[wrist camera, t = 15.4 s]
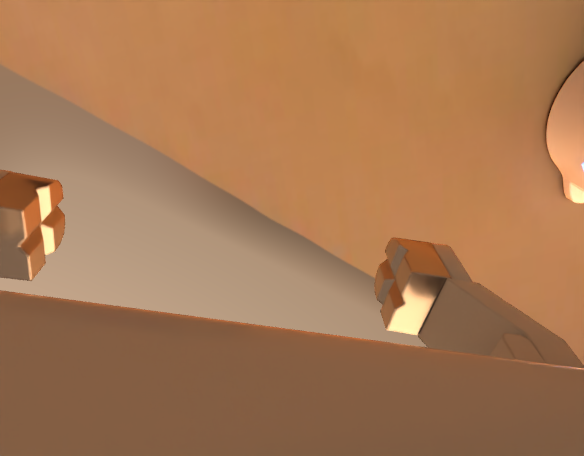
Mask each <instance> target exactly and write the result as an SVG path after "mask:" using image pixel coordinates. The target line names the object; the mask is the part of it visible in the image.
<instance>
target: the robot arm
mask: <svg viewBox="0 0 584 456" xmlns="http://www.w3.org/2000/svg"><path fill="white" fill-rule="evenodd" d="M546 141H547V147H548V151H549V154H550V156H551V158H552V160H553V162H554V163H555V165H556V166H557V167H558V169H559V170H560V172H561V174H562V176H563V188H564V194H565V196H566V197H567V198H568V199H570V200H571V201H573V202H575V203H584V61H583V62H582V63H581V64H580V65H579V66H578V67H577V68H576V69H575V70H574V71H573V73H572V74H571V75H570V76H569V78H568V79H567V80H566V82H565V83H564V85H563V86H562V88H561V90H560V91H559V93H558V95H557V97H556V99H555V101H554V103H553V106H552V108H551V111H550V114H549V118H548V123H547V130H546ZM62 191H63V190H62V185H61V183H60V182H59V181H58V180H53V179H47V178H41V177H37V176H31V175H25V174H21V173H15V172H11V171H6V170H0V277H1V278H11V279H18V280H27V281H32V279H33V278H34V277H35V276H36V275H37V273H38V272H39V271H40V270H41V268H42V267H43V266H44V264H45V263H46V262H45V255H48V254H50V253H53V252H55V251H56V249H57V248H58V246H59V245H60V243H61V240H62V238H63V235H64V229H65V215H64V213H63V212H62V211H61V210H60V209H59V207H58V206H57V205H58V204H59V203H60V202H61V200H62V199H63V192H62ZM385 253H386V255H387V258H388V259H387V260H385V261H384V262H383V263H381V264H380V265H379V268H378V270H377V273H376V277H375V295H376V298H377V300H378V301H379V302H380V303H382V304H383V306H382V309H381V315H382V318H383V321H384V324H385V328H386V330H390V331H396V332H402V333H408V334H414V335H419V336H418V337H419V338H420V339H421V340H422V342H423V343H424V344H426V346H427V347H428V348H427V347H420V346H412V345H405V344H397V343H390V342H382V341H375V340H366V339H360V338H352V337H345V336H337V335H330V334H322V333H315V332H307V331H300V330H292V329H285V328H277V327H270V326H262V325H255V324H248V323H240V322H232V321H225V320H217V319H210V318H203V317H195V316H188V315H180V314H172V313H165V312H158V311H150V310H142V309H135V308H127V307H120V306H113V305H106V304H97V303H91V302H83V301H76V300H68V299H61V298H53V297H45V296H38V295H31V294H23V293H15V292H8V291H1V290H0V456H584V365H583V364H582V363H581V361H580V360H579V359H578V357H577V356H576V355H575V354H574V352H573V351H572V350H571V348H570V347H569V346H568V344H567V343H566V342H565V341H564V340H563V339H561V338H560V337H558V336H557V335H555V334H554V333H552V332H551V331H549V330H548V329H546V328H545V327H543V326H542V325H541V324H539V323H538V322H536V321H535V320H533V319H532V318H530V317H529V316H527V315H526V314H524V313H523V312H521V311H520V310H518V309H517V308H515V307H514V306H512V305H511V304H509V303H508V302H506V301H505V300H503V299H502V298H500V297H499V296H497V295H496V294H494V293H493V292H491V291H490V290H488V289H487V288H485V287H484V286H482V285H481V284H479V283H475V282H472V280H471V278H470V277H469V275H468V274H467V272H466V270H465V269H464V267H463V266H462V264H461V263H460V261H459V259H458V258H457V256H456V255H455V253H454V251H453V250H452V248H451V247H450V246H448V245H443V244H435V243H429V242H422V241H415V240H408V239H401V238H391V240H390V241H389V242H388V245H387V247H386V249H385Z"/></svg>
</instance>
